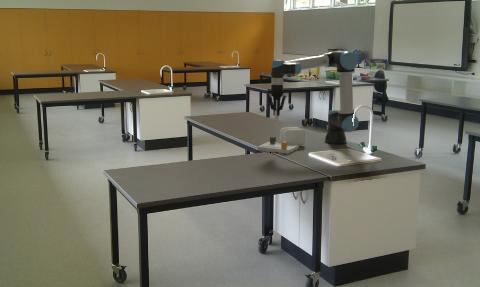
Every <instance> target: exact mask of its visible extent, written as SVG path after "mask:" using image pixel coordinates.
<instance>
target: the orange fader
mask: <svg viewBox="0 0 480 287" xmlns="http://www.w3.org/2000/svg"><path fill="white" fill-rule="evenodd" d="M280 143H281V148H283V149H286V148H287V142H284V141H283V142H280Z"/></svg>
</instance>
